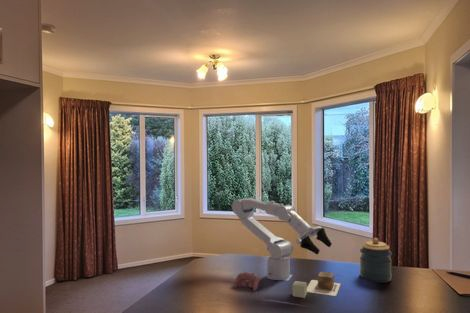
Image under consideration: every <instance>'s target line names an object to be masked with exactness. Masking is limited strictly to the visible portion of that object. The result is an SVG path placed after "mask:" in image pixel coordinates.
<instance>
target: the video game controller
mask: <svg viewBox="0 0 470 313" xmlns="http://www.w3.org/2000/svg"><path fill="white" fill-rule="evenodd" d="M247 281H249V282H247ZM259 283H260V277H259V276H258V275H256V274H255V273H253V272H239V274H237V276H236V278H235V281H234V284H233V286H234V289H236V288H238V286H239V285H241V286H242V287H244V288H245V287H249V288H250V289H252V290H253V292H256V291H257V290H258V287H259Z"/></svg>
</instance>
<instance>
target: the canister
mask: <svg viewBox="0 0 470 313" xmlns="http://www.w3.org/2000/svg"><path fill="white" fill-rule="evenodd" d="M361 246H362V247H361V248H360V250H359V252H360V256H359V262H360V264H359V266H360V267H359V276H360V278H361V279H364V280H366V281H369V282H374V283H380V284H386V283H390V282H391V280H392V277H393V276H392V261H393V260H392V258H391V255H392V254H393V253H392V251H391V250H390V246H389V245H388V244H387V243H386V242H383V241H380V240H379V238H378V237H374V238H372V240H367V241H365V242H364V243H362V244H361Z"/></svg>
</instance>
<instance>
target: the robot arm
mask: <svg viewBox="0 0 470 313" xmlns="http://www.w3.org/2000/svg"><path fill="white" fill-rule="evenodd" d="M231 208H232V213H234V214H235V215H236V216H237V218H238V219H239V221H240V222H241V224H242V225H243V226H244V227H245V228H246V229H248V231H249V232H251V233H252V234H253V235H254V236H255V237H257V238H258V239H260V241H262V242H263V243H264V244H265V245H266V251H268V252H269V254H270V256H269V257H268V259H267V266H266V267H267V268H266V269H267V274H266V275H267V277H266V279H267V280H275V281H279V280H280V281H289V280H290V279H291V278H292V276H293V274H290V273H291V272H290V271H291V269H290V267H291V265H290V264H291V262H290V261H291V260H290V259H291V256H292V254H293V252H294V246H293V244H292V242H291V241H289V240H287V239H284V238H283V237H279V236H276V235H275V234H273V233H272V232H271V231H270V230H269V229H267V228H266V227H265V226H264V225H263V224H261V223H260V222H259V221H258V220H256V219H255V218H254V212H255V209H257V210H261V211H264V212H265V213H266V214H267V215H270V216H273V217H276V218H278V220H280V221H284V222H285V223H287V224H288V225H289V226H290V227H291V229H293V230H294V231H295V232H296V233H297V234H298V235H299V236H298V237H296V239H295V242H296V244H298V245H300V248H302V249H306V250H308V251H309V252H311V253H314V254H315V255H319V253H320V249H319V248H318V246H316V244H315V243H314V242H313V241H312V240H311V238H312V237H314V236H316V239H315V240H318V241H319V242H321V243H323V244H324V245H325V246H327V247H328V248H330V247H332V244H333V243H332V242H331V240H330V239H329V237H328V235H327V233H326V230H325V228H324V227H322V226H320V225H318V226H315V227H314V226H311V225H310V224H309V223H308V222H306V220H305V219H303V218H302V216H300V215H299V214H298V213H297V212H296V209H295V208H294V206H293V205H291V204H286V205H284V203H278V202H275V200H270V201H268V202H264V201H261V200H258V199H256V198H253V197H252V198H251V197H246V198H241V199H240V198H238V199H234V200H233V201H232V205H231Z"/></svg>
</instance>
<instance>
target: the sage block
mask: <svg viewBox="0 0 470 313" xmlns="http://www.w3.org/2000/svg"><path fill="white" fill-rule="evenodd" d="M307 287H308V282H307V281H306V282H305V281H298V280H295V281H294V282H293V283H292V297H296V298H297V297H298V298H303V299H305V298H306V296H307V295H308V292H307Z"/></svg>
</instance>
